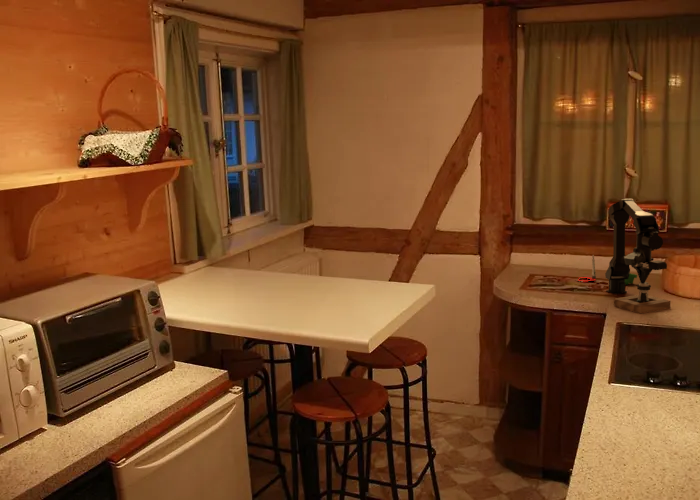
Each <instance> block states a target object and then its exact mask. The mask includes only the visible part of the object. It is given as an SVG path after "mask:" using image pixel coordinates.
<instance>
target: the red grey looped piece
mask: <svg viewBox="0 0 700 500" xmlns="http://www.w3.org/2000/svg"><path fill="white" fill-rule="evenodd" d="M591 259H592V260H591V265H592V269H591V277H588V276H586V277H584V276H583V277H578V278H579V279H580V278H587V279H582V280H579V279H578V281H583V282H582V283H589V282H588V281H596V282H597V276H596V262H595V261H596V259H595V255H594V254H592V258H591ZM588 279H590V280H588Z"/></svg>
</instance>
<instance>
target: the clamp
mask: <svg viewBox="0 0 700 500" xmlns="http://www.w3.org/2000/svg"><path fill="white" fill-rule="evenodd" d="M637 277H638V274H635V273H630V274H629V278H628V279H625V286H628V285H630V284H633V283H634V281H635V279H638V278H637Z"/></svg>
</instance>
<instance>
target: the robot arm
mask: <svg viewBox="0 0 700 500" xmlns="http://www.w3.org/2000/svg"><path fill="white" fill-rule="evenodd" d="M608 214H609V220H610V221H611V222H612V224H613V249H612V253H613V254H612V255H613V256H612V258H611V259H610V261H609V263H608V264H609V265H608V268H607V269H606V271H605V273H604V274H605V279H607V280H608V289H606V291H605V292H607V293H611V294H614V295H620V294H627V293H628V291H627V290H626V285H625V279H628V278H629V274H630V272H631V268H633V269H635V271H636V273H637V277H638V278H639V283H640V282H641V283H645V282H646V281H647V280H648V277H649V276H650V273H651V272H653V271H661V270H666V269H667V268H668V264H667V261H664V260H654V257H652V251H655V250H659V249H660V248H662V246H663V244H664V241H663V238H662V236H660V235H659V233H660V226H659V224H658V222H657V218H656V217H655V215H653V213H650V212H646V211H644V210H643V209H642V208H641V207H640V206H639V205H637V203H636V202H635V200H634V199H633V198H622V199H620V200H619V201H617V202H615V203H614V202H613V204H611V205H610V207H609V208H608ZM630 218H631V219H633V221H632V222H633V223H632V225H633V226H634V228H635V232H634V233H635V234H636V241H635V242H636V244H635V245H636V246H635V247H633V249H632V250H633V251H632V252H631V253H628V254H627V255H626V224H627V223H628V222H629V219H630ZM630 266H631V268H630Z"/></svg>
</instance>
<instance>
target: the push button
mask: <svg viewBox="0 0 700 500" xmlns="http://www.w3.org/2000/svg"><path fill="white" fill-rule="evenodd" d="M651 287H652V286H651V284H650V283H649V282H646V281H645V283H641V282H640V281H639V283H638V284H636V288H637V290H638V295H639V298H638V300H637V302H638V303H644V302H650V301H649V299H648V295H649V291H650V290H651ZM640 296H641V297H640Z"/></svg>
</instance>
